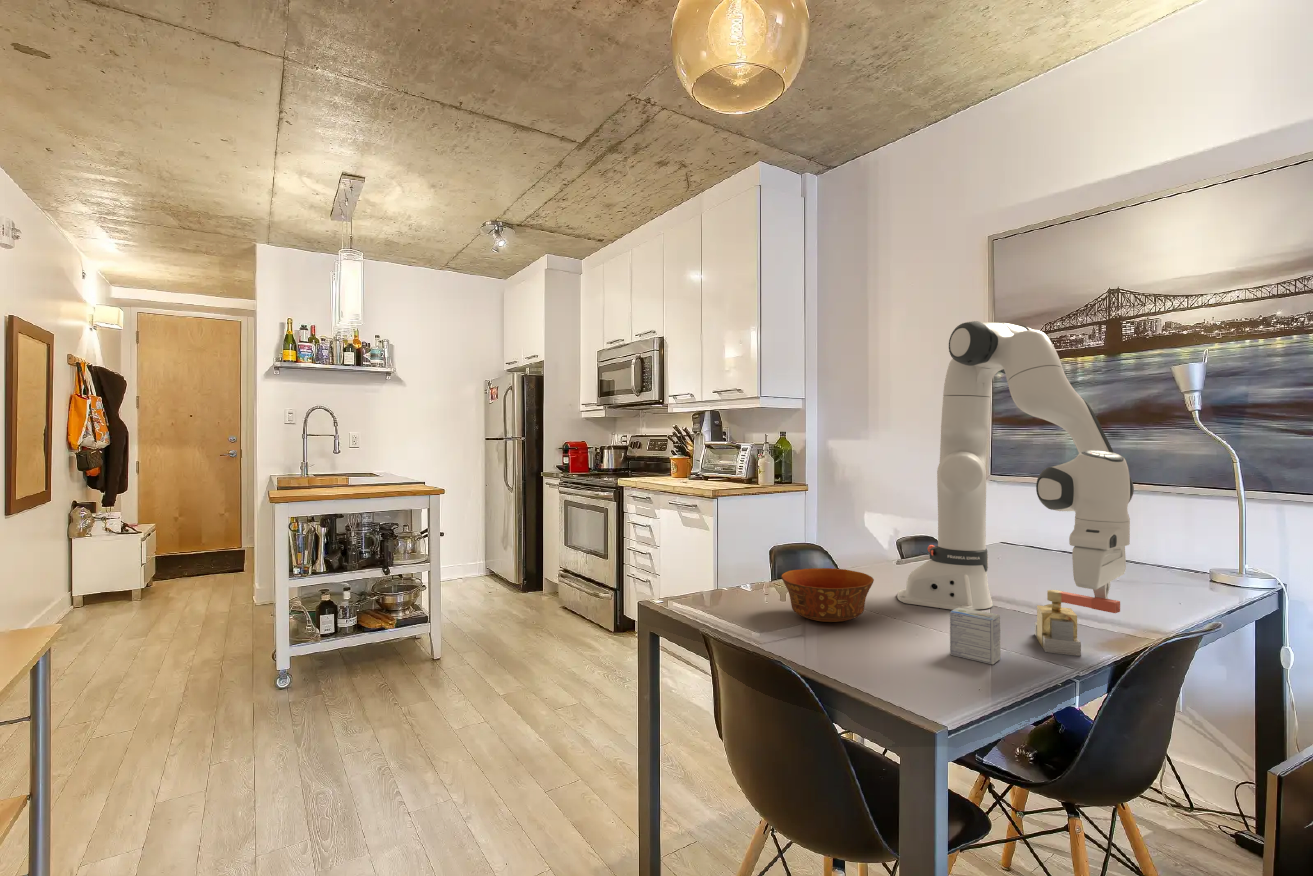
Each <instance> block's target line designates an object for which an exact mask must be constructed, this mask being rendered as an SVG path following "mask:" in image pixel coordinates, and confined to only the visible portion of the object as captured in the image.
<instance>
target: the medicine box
mask: <svg viewBox="0 0 1313 876" xmlns="http://www.w3.org/2000/svg"><path fill="white" fill-rule="evenodd" d="M949 654H950V655H951V656H954V657H958V658H961V659H962V658H963V659H968V660H972V661H977V662H979V663H985V664H988V665H994V664H996V663H997V662H998V661H999V660H1001V656H1002V655H1001V615H999V614H997V613H992V612H987V611H981V610H977V609H976V610H971V609H965V608H956V609H954V610H951V611H950V612H949Z"/></svg>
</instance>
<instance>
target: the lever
mask: <svg viewBox="0 0 1313 876" xmlns="http://www.w3.org/2000/svg"><path fill="white" fill-rule="evenodd" d="M1046 592H1047V598H1046V599H1047V601H1048V602H1051V603H1052V602H1059V603H1061V604H1062V603H1063V604H1064V603H1065V604H1069V605H1075V606H1078V607H1085V608H1089V609H1092V610H1095V611H1101V612H1106V613H1110V614H1111V613H1112V614H1117V613H1118V614H1119V613H1120V612H1121V600H1117V599H1111V598H1110V599H1109V598H1108V599H1106V598H1100V597H1095V596H1089V595H1084V594H1077V593H1071V592H1068V591H1064V590H1063V591H1062V590H1060V589H1059V590H1057V589H1048V590H1047V591H1046Z"/></svg>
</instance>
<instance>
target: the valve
mask: <svg viewBox="0 0 1313 876" xmlns="http://www.w3.org/2000/svg"><path fill="white" fill-rule="evenodd" d="M1036 605H1037V606H1036V621H1034V636H1035V637H1036V640H1038V642H1039V644H1040V646H1041V648H1042V649H1043V651H1044V653H1050V654H1059V655H1067V656H1077V657H1082V641H1080V639H1079V638H1078V615H1077V614H1076V612H1074V611H1073V609H1072V608H1070V607H1062V603H1059V602H1052V601H1051V603H1048V604H1045V605H1038V604H1036Z"/></svg>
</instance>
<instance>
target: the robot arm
mask: <svg viewBox="0 0 1313 876" xmlns="http://www.w3.org/2000/svg"><path fill="white" fill-rule="evenodd" d="M948 352H949V354H950V355H949V356H950V357H951V360H950V362H949V363H948V365H947V370H946V374H945V378H944V385H943V391H942V393H943V395H942V404H941V405H942V406H941V407H942V408H941V423H940V424H941V425H940V447H939V450H940V451H939V463H938V465H937V468H936V469H937V470H936V475H937V476H936V477H937V478H936V479H937V481H936V483H937V484H936V486H937V491H936V492H937V521H938V522H937V545H933V544H929V545H928V546H927V551H928V553H929V559H928V560H927V561H926V562H924V563H923V564H921V565H920V566H919V567H917V568H915V569H914V570H912V571H910V573H909V574H908V578H907V580H906V585H905V588H901V589H900V590H898V591H897V596H896V598H897V600H898V601H900V602H901V603H904V604H909V605H916V606H917V605H918V606H924V607H931V608H937V609H939V608H940V609H946V610H951V611H952V610H954V609H956V608H965V609H971V610H976V611H977V610H985V609H990V608H993V605H994V604H993V600H992V597H991V593H990V588H989V582H988V576H987V575H988V573H987V572H988V569H989V552H988V549H987V547H986V546H987V542H986V541H987V537H986V535H987V534H986V533H987V530H986V529H987V528H986V526H987V522H986V521H987V514H986V513H987V512H986V511H987V469H986V464H987V452H988V441H989V430H990V415H991V399H992V398H991V397H992V382H993V379H994V377H995V375H996V374H997V373H998V372H1000V373H1001V374H1004V375H1005V377H1006V382H1007V385H1008V389H1009V393H1010V396H1011V399H1012V400H1013V403H1014V404H1015V406H1016V407H1017V408H1018V409H1019V410H1020V411H1022V412H1023V413H1025V414H1027V415H1028V416H1029V415H1030V416H1032V417H1033V418H1037V419H1041V420H1044V421H1046V422H1049V423H1052V424H1054V425H1056V426H1057V427H1059V428H1061V429H1063V430H1064V431H1065V432H1066V433H1068V435H1069V436H1070V437H1071V439H1072V442H1073V443H1074V445H1075V447H1076V450H1077V452H1078V454H1077V456H1076V457H1074V458H1073V459H1072V460H1071V459H1070V460H1069V461H1067V462H1064V463H1062V464H1061V463H1060V464H1057V465H1054V466H1049V467H1046V468H1044V469H1043V470H1042V471H1041V472H1040V474H1039V475H1038V477H1037V480H1036V484H1035V488H1036V489H1035V490H1036V495H1037V498H1038V500H1039V502H1040V503H1041V504H1042V505H1043V507H1045V508H1047V509H1048V510H1051V511H1056V512H1075V516H1074V525H1073V530H1072V532H1071V533H1070V535H1069V540H1068V542H1069V546H1071V547H1073V548H1072V554H1071V555H1072V558H1071V559H1072V572H1073V573H1072V574H1073V576H1072V577H1073V581H1074V584H1075V585H1076V587H1078V588H1083V589H1087V590H1088V589H1090V590H1093V591H1092V592H1093V594H1094V597H1100V598H1106V599H1109V598H1108V597H1109V594H1110V593H1109V592H1110V589H1111V582H1112V581H1115V580H1116V579H1118V578H1120V577H1121V576H1124V575H1125V573H1126V570H1127V569H1126V568H1127V562H1126V561H1127V559H1126V558H1127V557H1126V556H1127V555H1126V547H1127V546H1129V545H1131V544H1130V538H1131V537H1130V536H1131V535H1130V534H1131V533H1130V531H1131V527H1130V526H1131V521H1130V520H1131V518H1130V515H1129V511H1128V507H1129V503H1130V502H1131V500H1132V499H1133V496H1134V493H1135V492H1134V491H1135V490H1134V489H1135V488H1134V482H1133V480H1132V477H1131V475H1130V469H1129V465H1128V464H1127V460H1126V459H1125V457H1124V456H1123V455H1120V454H1118V453H1115V452H1114V450H1113V448H1112V446H1111V444H1110V441H1109V440H1108V437H1107V436H1106V433H1105V432H1104V429H1103V428H1102V425H1101V423H1100V421H1099V419H1098V418H1097V416H1096V414H1095V412H1094V410H1093V408H1092V407H1091V406H1090V404H1089V402H1088V401H1087V400H1086V399H1085V398H1083V396H1081V395H1080V394H1079V393H1078V392H1077V391H1076V390H1075V388H1074V387H1073V386H1072V384H1071V383H1070V381H1069V380H1068V378H1067V376H1066V373H1065V370H1064V368H1063V365H1062V361H1061V358H1060V356H1059V355H1058V352H1057V350H1056V348H1055V346H1054V344H1053V343H1052V341H1051V339H1050V338H1049V336H1048V335H1047V334H1046V332H1043V331H1041V330H1039V329H1032V328H1030V327H1029V326H1026V325H1025V326H1024V325H1017V324H1013V323H1007V322H1001V321H998V322H997V321H996V322H994V321H993V322H992V321H989V322H987V321H984V322H981V321H977V320H976V321H975V320H974V321H973V320H972V321H967V322H962V323H960V324H959V325H956V327H955V328H954V329H953V331H952V332H951V334H950V337H949V339H948Z"/></svg>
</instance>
